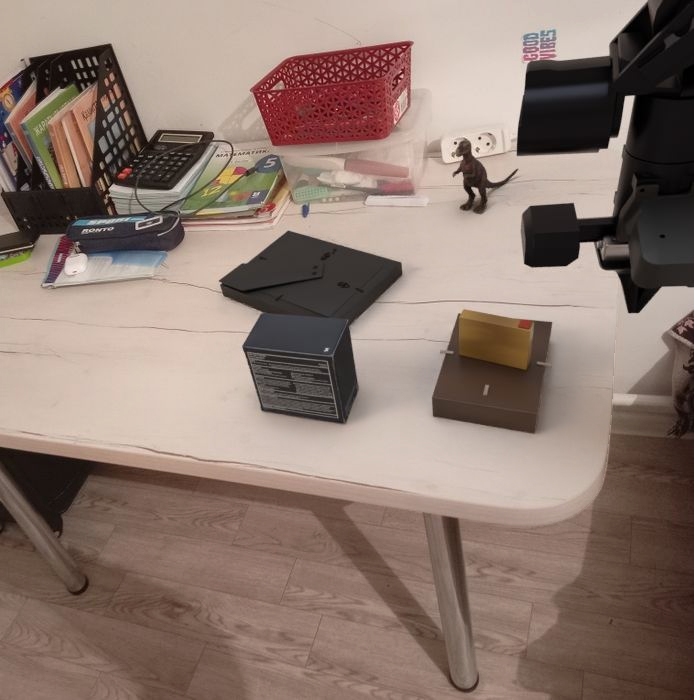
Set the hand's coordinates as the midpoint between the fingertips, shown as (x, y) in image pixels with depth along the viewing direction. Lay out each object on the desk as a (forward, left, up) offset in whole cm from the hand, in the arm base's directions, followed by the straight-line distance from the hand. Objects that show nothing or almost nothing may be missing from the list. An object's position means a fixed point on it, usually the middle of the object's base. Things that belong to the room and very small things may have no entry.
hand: (632, 310), depth 55 cm
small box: (+31, +1, -12) cm, 33 cm away
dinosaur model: (+11, -42, -12) cm, 45 cm away
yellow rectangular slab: (+11, -3, -9) cm, 14 cm away
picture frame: (+35, -21, -12) cm, 43 cm away
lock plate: (+11, -3, -12) cm, 17 cm away
